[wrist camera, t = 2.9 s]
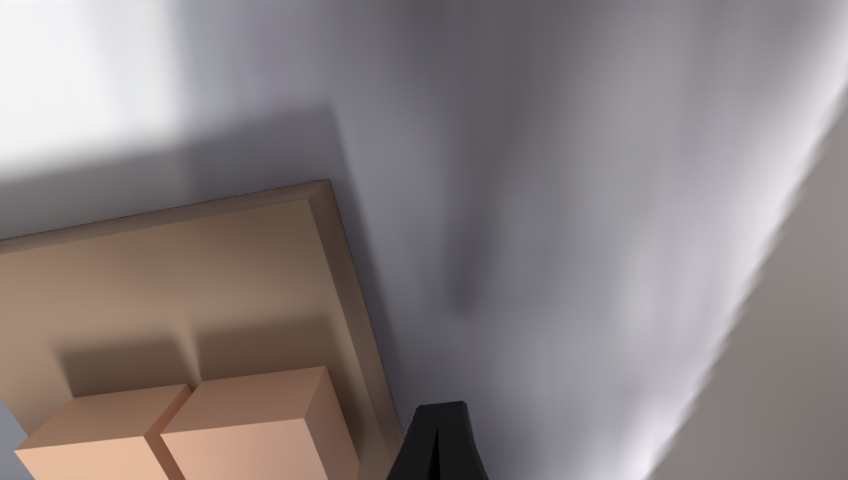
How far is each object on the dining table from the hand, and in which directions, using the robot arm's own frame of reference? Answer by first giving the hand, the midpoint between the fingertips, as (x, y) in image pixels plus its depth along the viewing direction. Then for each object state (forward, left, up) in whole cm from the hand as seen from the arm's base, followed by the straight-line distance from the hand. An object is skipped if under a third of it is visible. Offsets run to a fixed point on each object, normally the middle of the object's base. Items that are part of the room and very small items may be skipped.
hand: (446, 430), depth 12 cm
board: (0, +8, -3) cm, 9 cm away
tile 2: (0, +10, -1) cm, 10 cm away
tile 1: (0, +5, -1) cm, 5 cm away
